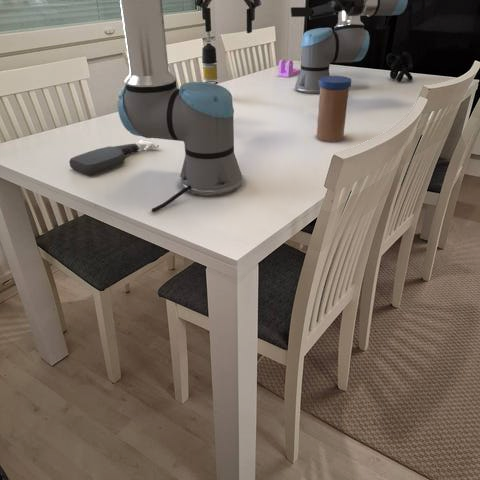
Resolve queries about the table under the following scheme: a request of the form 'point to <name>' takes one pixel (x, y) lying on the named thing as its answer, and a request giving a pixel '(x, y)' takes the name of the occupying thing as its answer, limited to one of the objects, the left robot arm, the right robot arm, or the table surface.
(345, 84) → the lid
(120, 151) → the spray bottle
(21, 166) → the table surface
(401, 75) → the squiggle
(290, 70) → the bracket
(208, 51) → the black tall bottle
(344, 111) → the jar
